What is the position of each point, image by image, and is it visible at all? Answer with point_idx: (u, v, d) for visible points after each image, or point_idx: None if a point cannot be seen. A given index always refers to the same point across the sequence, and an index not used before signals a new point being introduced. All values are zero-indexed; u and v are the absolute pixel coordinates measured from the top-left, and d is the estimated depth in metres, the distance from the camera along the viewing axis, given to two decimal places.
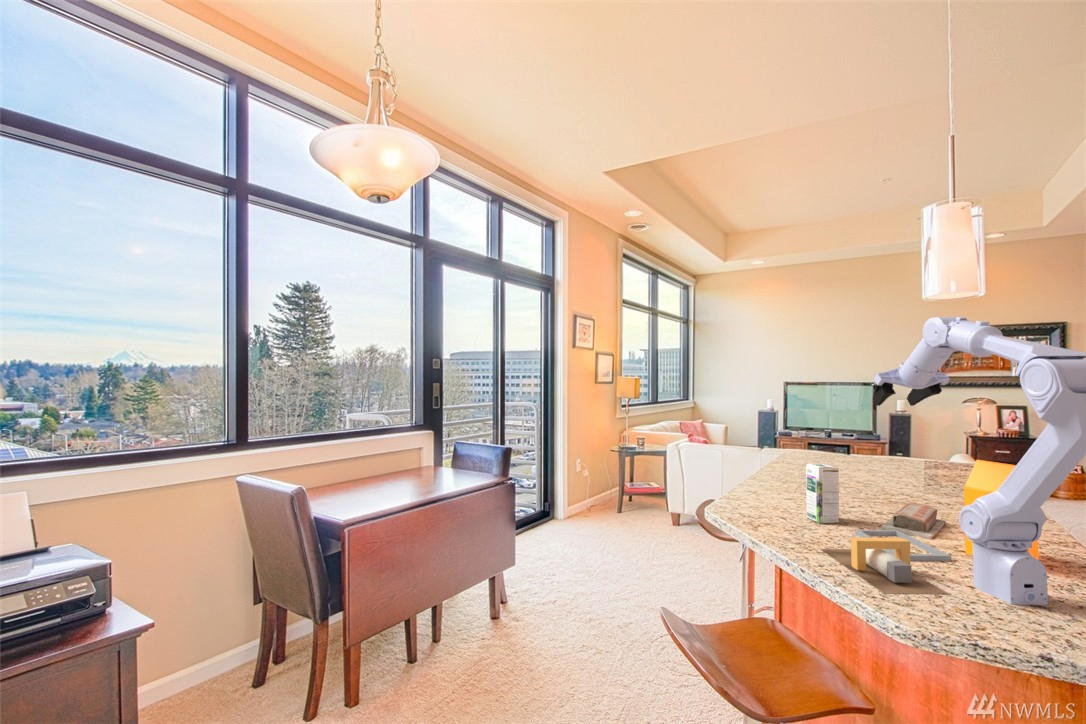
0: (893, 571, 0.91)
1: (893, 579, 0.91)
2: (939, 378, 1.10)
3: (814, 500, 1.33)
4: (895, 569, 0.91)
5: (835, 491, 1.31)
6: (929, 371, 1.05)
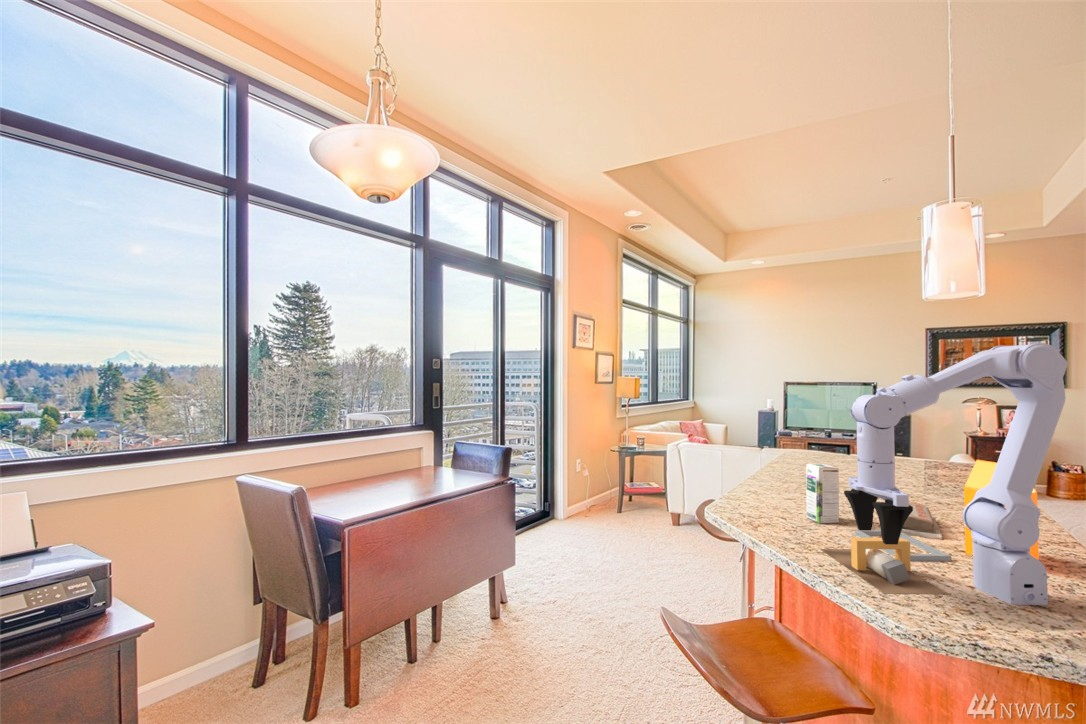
0: (889, 574, 0.91)
1: (892, 581, 0.91)
2: None
3: (814, 500, 1.33)
4: (890, 572, 0.91)
5: (835, 491, 1.31)
6: None
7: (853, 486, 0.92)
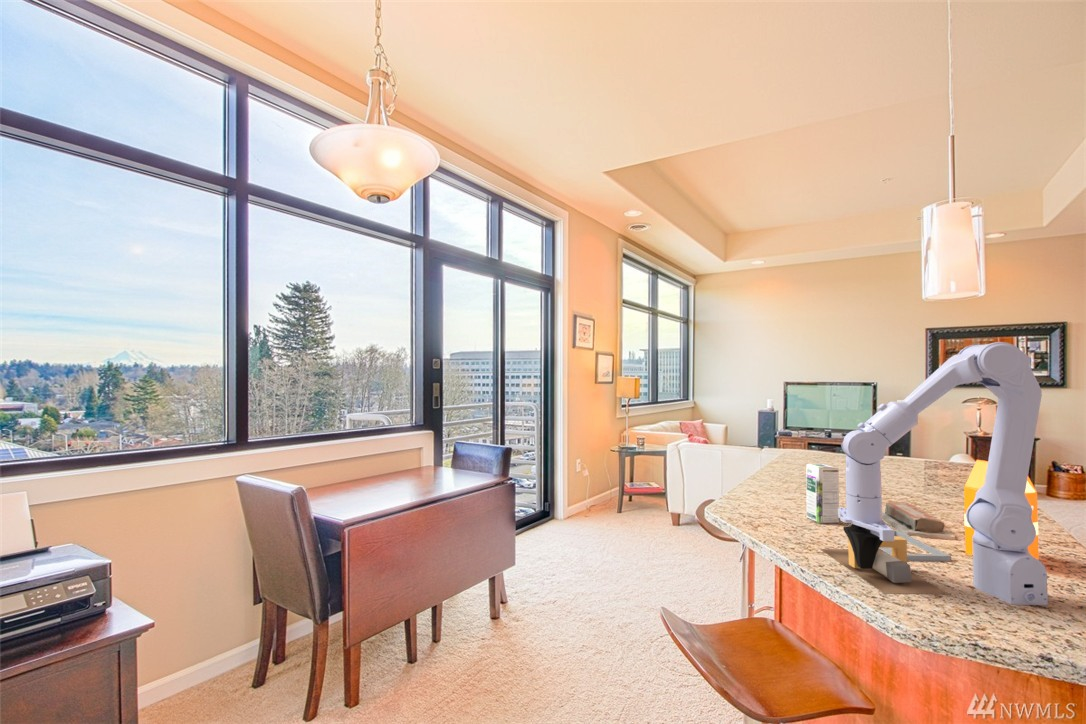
0: (892, 572, 0.91)
1: (893, 580, 0.91)
2: None
3: (814, 500, 1.33)
4: (894, 569, 0.91)
5: (835, 491, 1.31)
6: None
7: (842, 519, 0.96)
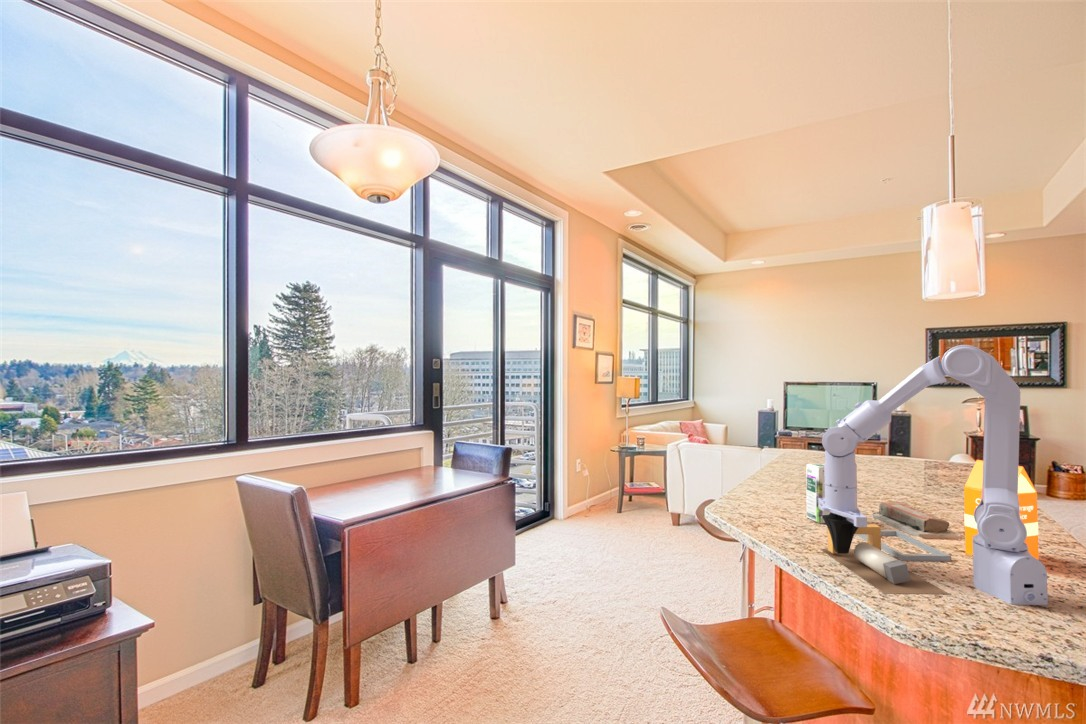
0: (890, 573, 0.91)
1: (892, 581, 0.91)
2: None
3: (814, 500, 1.33)
4: (892, 571, 0.91)
5: None
6: (856, 485, 1.01)
7: (821, 507, 1.04)
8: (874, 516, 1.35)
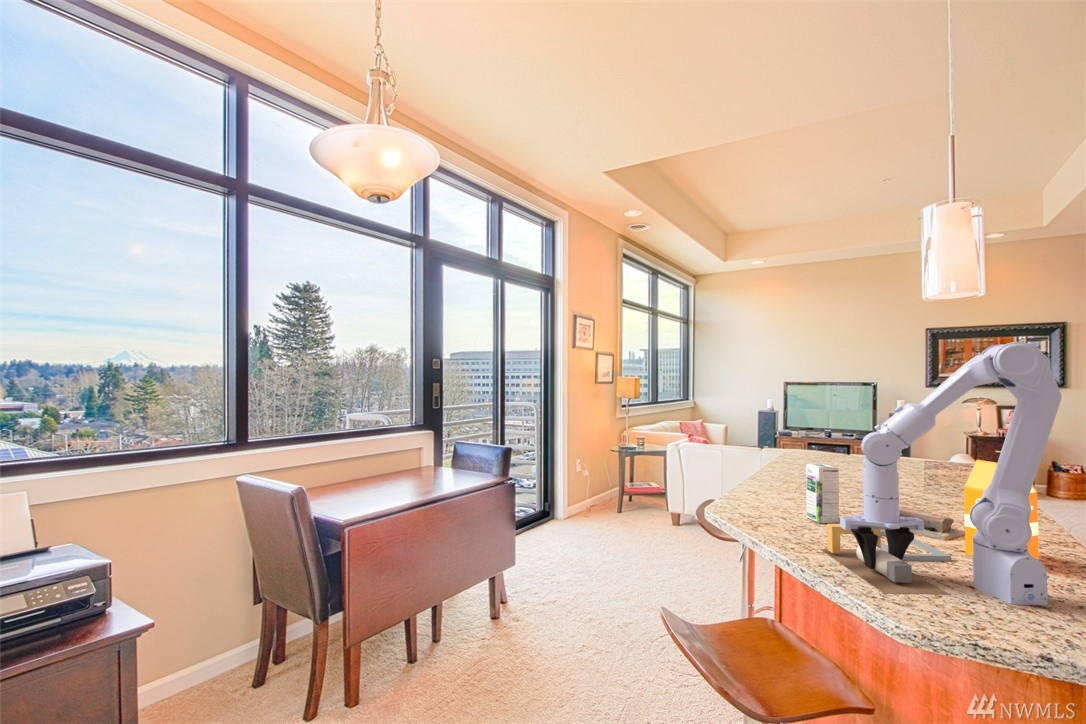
0: (893, 571, 0.91)
1: (893, 579, 0.91)
2: None
3: (814, 500, 1.33)
4: (895, 569, 0.91)
5: (835, 491, 1.31)
6: (898, 495, 0.95)
7: (894, 526, 0.93)
8: None
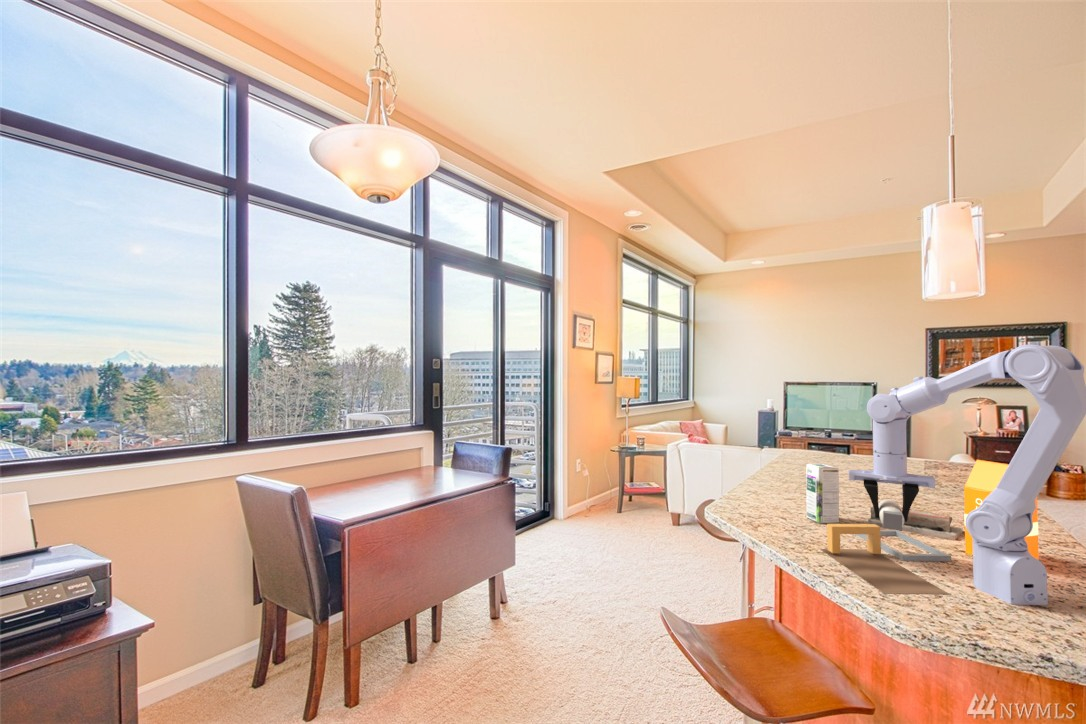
0: (883, 518, 1.00)
1: (883, 525, 1.00)
2: None
3: (814, 500, 1.33)
4: (885, 516, 1.00)
5: (835, 491, 1.31)
6: (903, 452, 1.02)
7: (891, 478, 1.01)
8: (872, 522, 1.30)
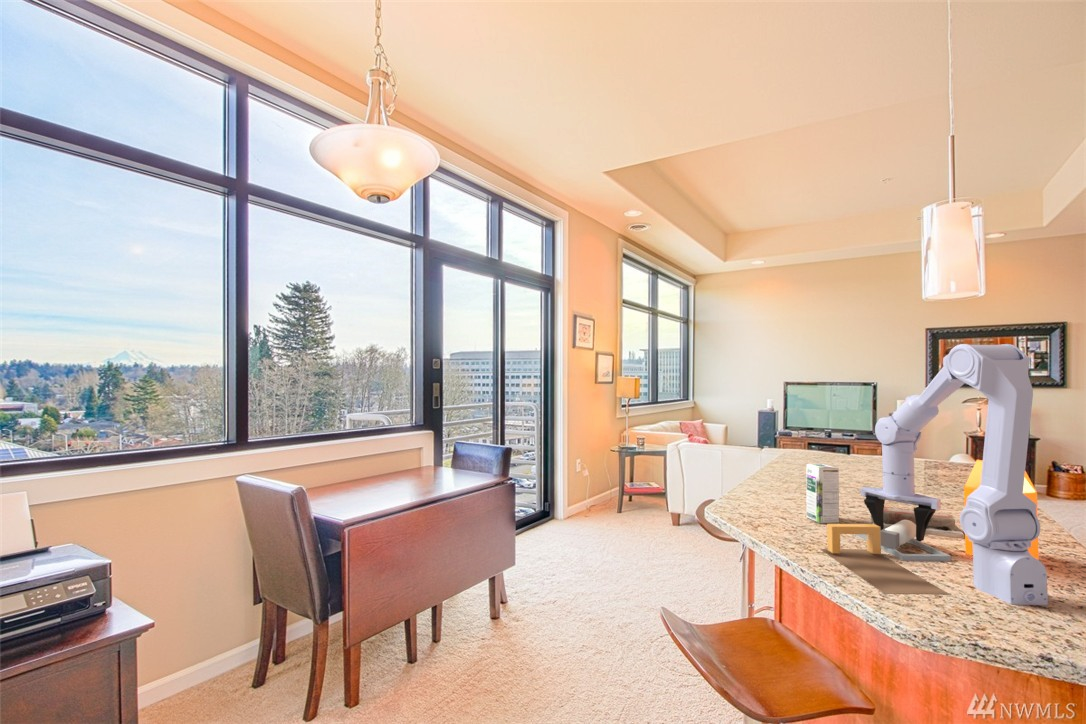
0: None
1: None
2: None
3: (814, 500, 1.33)
4: None
5: (835, 491, 1.31)
6: (906, 473, 1.08)
7: (890, 496, 1.08)
8: None
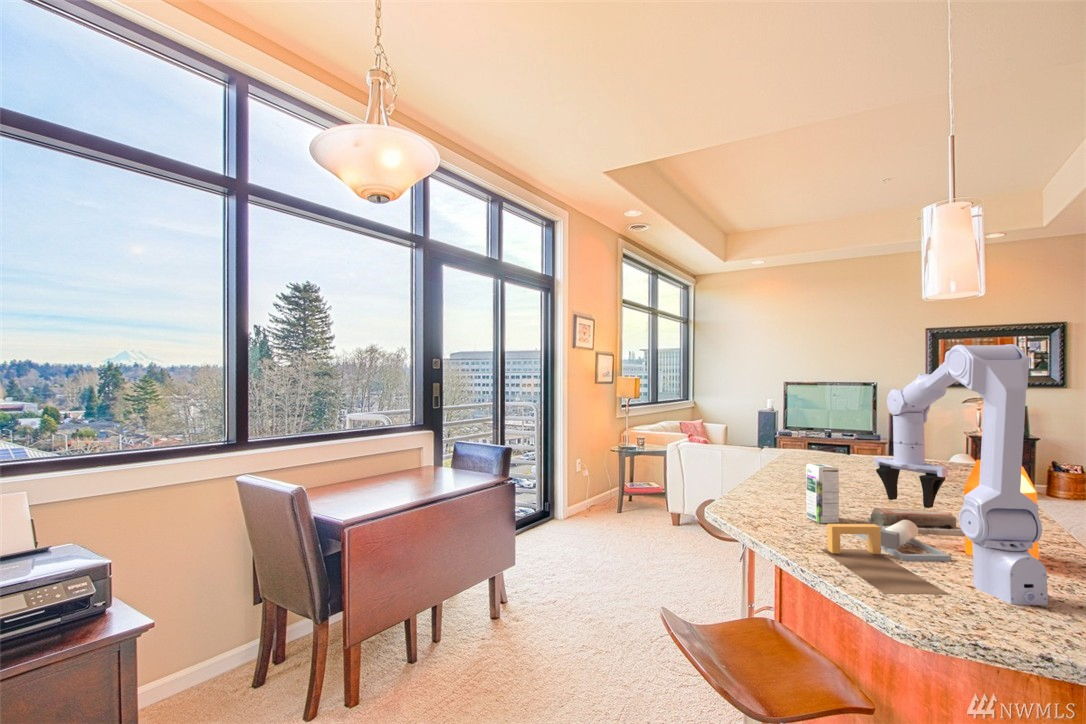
0: None
1: None
2: None
3: (814, 500, 1.33)
4: None
5: (835, 491, 1.31)
6: (914, 443, 1.12)
7: (897, 464, 1.13)
8: None
